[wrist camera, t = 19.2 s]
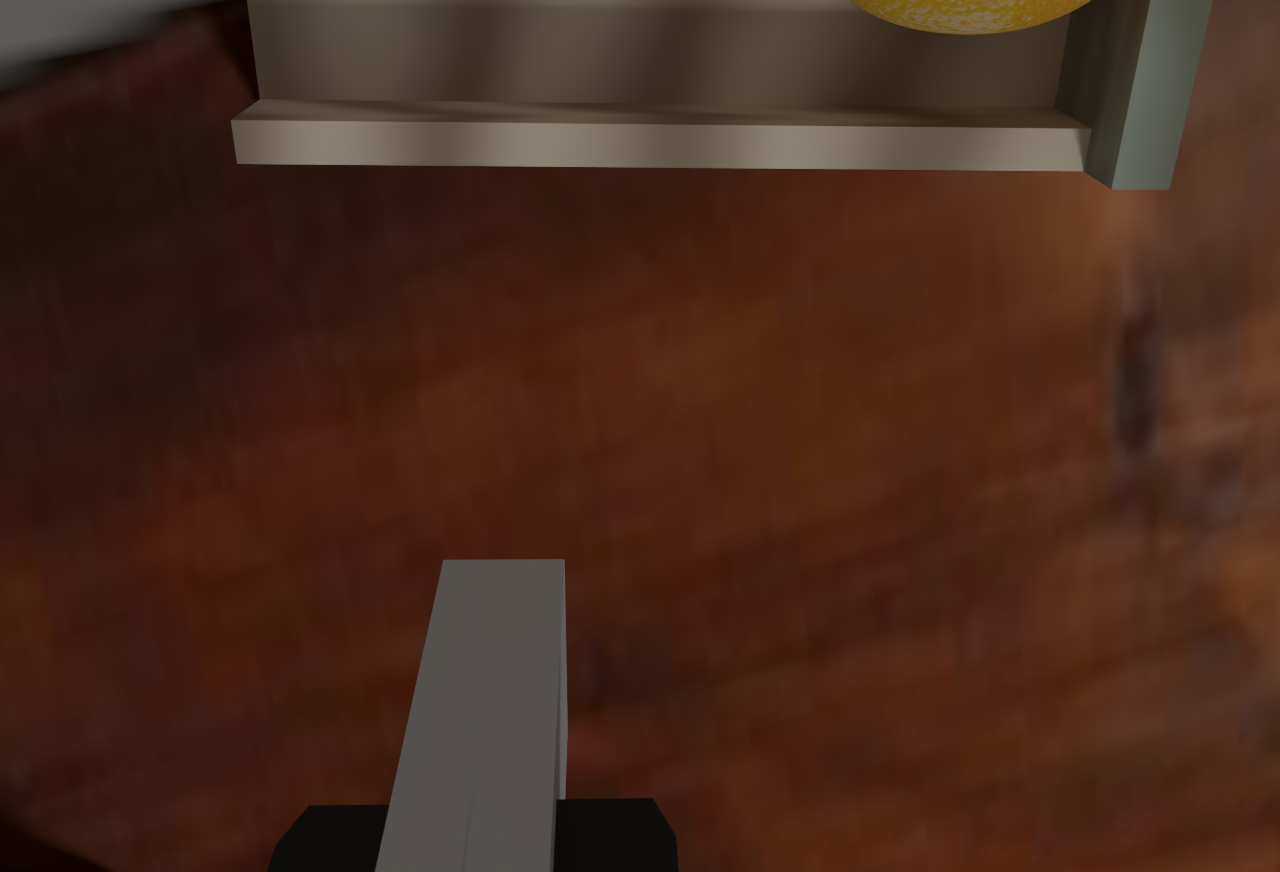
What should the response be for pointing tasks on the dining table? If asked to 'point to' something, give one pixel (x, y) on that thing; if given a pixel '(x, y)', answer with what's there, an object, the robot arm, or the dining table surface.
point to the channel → (718, 87)
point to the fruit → (969, 14)
